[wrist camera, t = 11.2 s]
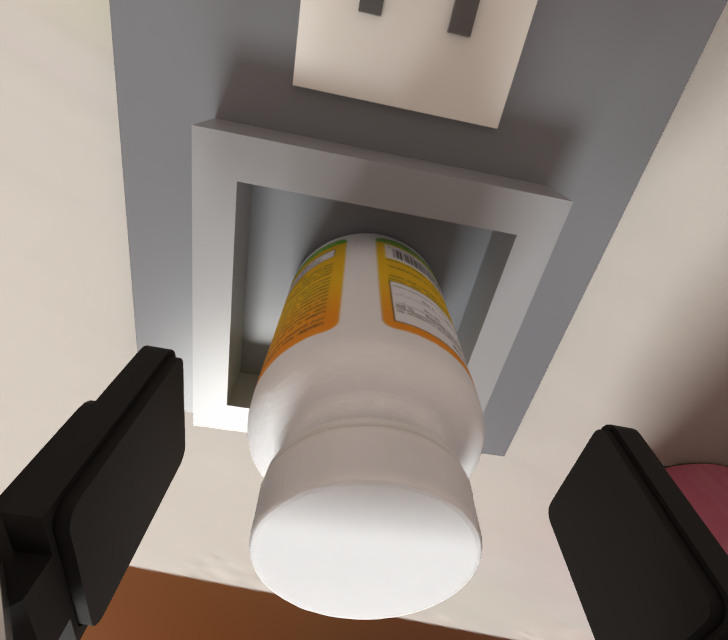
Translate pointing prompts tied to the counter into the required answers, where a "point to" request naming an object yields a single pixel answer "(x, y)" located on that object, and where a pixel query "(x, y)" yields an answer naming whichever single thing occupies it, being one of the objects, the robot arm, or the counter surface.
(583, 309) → the counter surface
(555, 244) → the dock
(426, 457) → the supplement bottle
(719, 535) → the plant pot
